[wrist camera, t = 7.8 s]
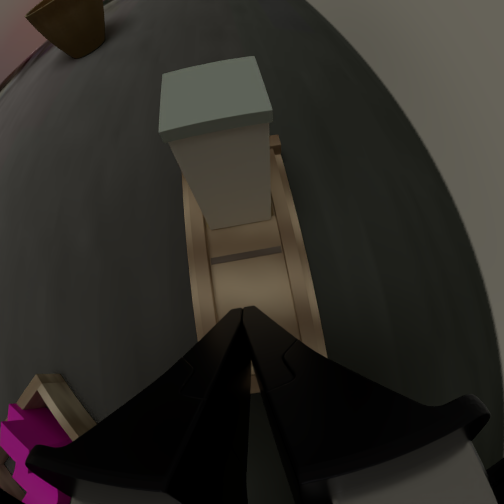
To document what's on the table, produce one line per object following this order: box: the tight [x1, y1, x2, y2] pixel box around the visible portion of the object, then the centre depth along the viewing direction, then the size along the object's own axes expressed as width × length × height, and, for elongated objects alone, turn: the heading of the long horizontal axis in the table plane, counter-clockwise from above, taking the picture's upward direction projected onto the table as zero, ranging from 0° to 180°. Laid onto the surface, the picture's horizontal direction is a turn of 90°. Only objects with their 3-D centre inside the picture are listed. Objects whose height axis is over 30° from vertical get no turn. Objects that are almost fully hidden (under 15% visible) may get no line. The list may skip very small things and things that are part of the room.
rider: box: [159, 56, 273, 230], centre depth 18 cm, size 5×5×12 cm
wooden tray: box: [178, 135, 327, 394], centre depth 22 cm, size 20×9×3 cm, turn 9°
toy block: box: [0, 404, 73, 504], centre depth 14 cm, size 15×6×8 cm, turn 162°
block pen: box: [0, 374, 97, 501], centre depth 16 cm, size 12×21×4 cm, turn 137°
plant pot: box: [25, 0, 105, 59], centre depth 32 cm, size 15×15×16 cm
